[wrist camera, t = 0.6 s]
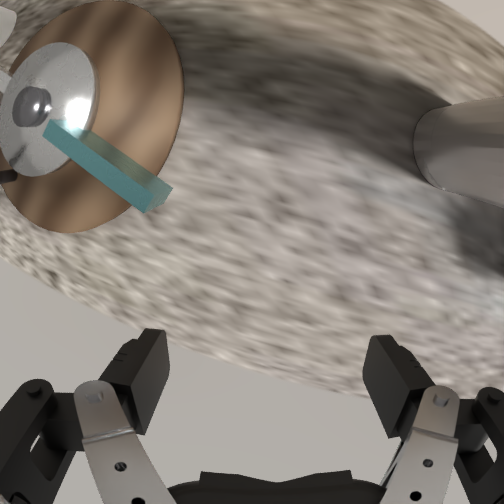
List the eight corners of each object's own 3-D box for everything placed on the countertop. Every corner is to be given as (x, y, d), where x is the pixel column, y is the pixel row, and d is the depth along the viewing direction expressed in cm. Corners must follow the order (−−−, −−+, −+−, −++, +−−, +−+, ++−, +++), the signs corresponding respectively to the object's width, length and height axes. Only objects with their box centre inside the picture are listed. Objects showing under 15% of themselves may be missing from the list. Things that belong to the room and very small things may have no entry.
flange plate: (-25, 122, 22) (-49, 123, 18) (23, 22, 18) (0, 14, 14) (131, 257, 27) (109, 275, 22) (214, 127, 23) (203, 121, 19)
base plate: (-20, 162, 28) (-56, 168, 21) (70, -13, 21) (40, -33, 13) (102, 275, 32) (69, 303, 25) (240, 60, 25) (232, 31, 18)
